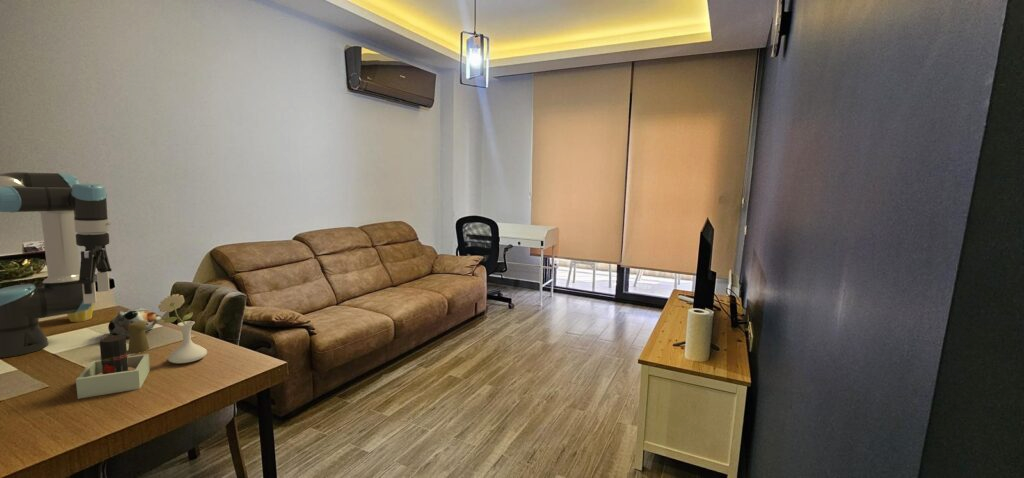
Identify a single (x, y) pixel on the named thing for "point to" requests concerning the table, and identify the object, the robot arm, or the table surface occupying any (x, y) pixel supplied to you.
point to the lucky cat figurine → (133, 315)
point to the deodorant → (113, 354)
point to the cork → (137, 337)
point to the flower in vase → (187, 348)
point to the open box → (112, 378)
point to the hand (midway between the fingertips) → (97, 297)
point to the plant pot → (81, 315)
